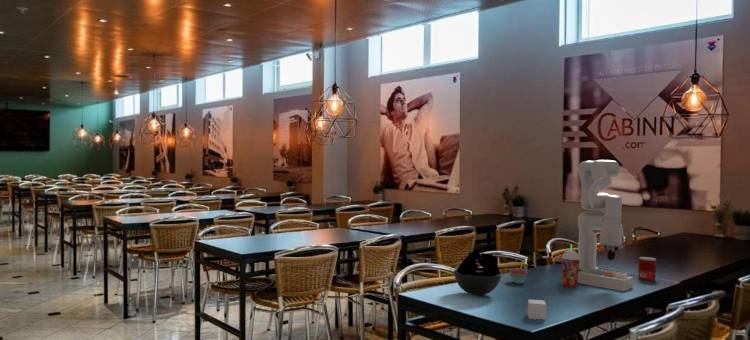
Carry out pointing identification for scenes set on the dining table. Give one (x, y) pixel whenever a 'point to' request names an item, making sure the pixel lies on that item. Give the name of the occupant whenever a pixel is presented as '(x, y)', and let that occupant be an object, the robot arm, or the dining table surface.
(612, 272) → the key terracotta
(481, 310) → the dining table surface
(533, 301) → the grey cube
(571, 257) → the smoothie
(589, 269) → the key sage
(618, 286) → the keypad
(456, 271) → the coal bowl
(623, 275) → the key ivory
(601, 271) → the key slate
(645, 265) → the canned food
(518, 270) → the cupcake
